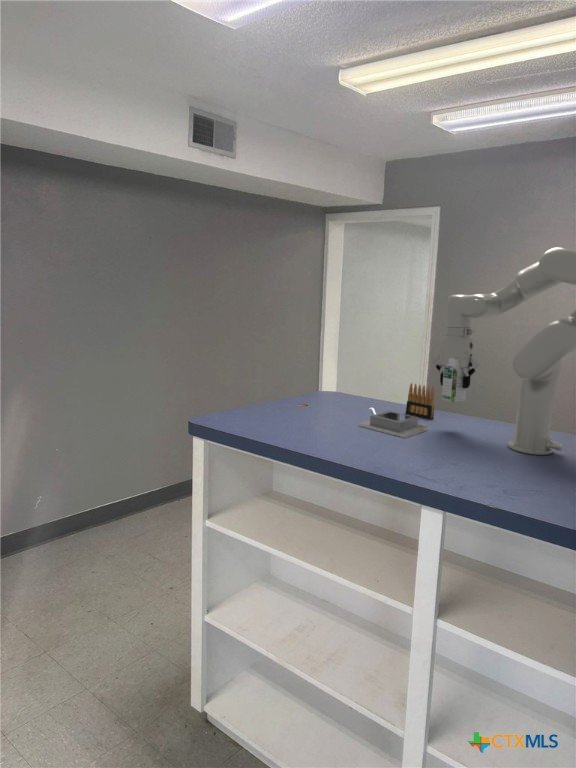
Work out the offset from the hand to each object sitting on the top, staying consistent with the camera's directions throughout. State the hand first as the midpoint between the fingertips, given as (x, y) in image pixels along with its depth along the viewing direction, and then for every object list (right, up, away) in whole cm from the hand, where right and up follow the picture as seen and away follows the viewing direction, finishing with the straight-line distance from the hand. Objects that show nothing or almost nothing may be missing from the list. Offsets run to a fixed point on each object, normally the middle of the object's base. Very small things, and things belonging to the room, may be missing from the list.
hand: (454, 386), depth 177 cm
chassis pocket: (-20, -14, +3) cm, 24 cm away
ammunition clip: (-7, -12, +21) cm, 25 cm away
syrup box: (0, -5, +1) cm, 5 cm away
